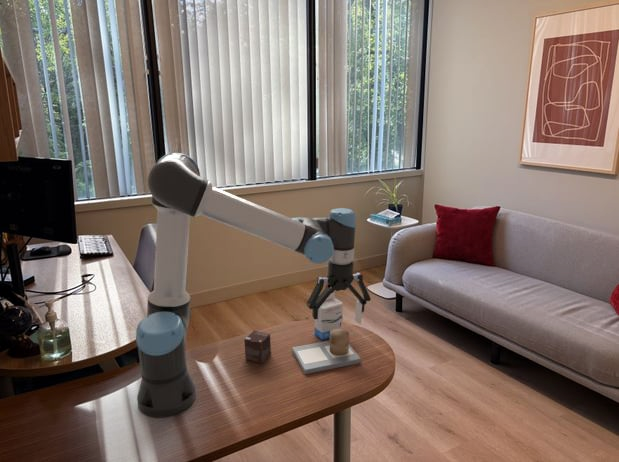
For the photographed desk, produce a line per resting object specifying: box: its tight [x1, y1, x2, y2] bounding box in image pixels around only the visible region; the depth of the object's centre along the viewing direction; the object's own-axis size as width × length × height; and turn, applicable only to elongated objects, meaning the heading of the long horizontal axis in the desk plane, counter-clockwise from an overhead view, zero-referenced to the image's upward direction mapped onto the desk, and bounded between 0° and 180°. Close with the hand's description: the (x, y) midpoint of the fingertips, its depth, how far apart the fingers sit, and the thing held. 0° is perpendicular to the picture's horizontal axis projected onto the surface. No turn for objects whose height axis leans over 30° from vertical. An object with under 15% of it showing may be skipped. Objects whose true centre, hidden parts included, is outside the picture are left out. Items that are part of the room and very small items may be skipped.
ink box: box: [314, 290, 344, 341], centre depth 156 cm, size 8×5×15 cm, turn 123°
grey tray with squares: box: [291, 339, 362, 375], centre depth 145 cm, size 18×13×2 cm
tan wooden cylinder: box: [329, 328, 350, 356], centre depth 145 cm, size 6×6×6 cm
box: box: [243, 330, 272, 364], centre depth 144 cm, size 6×6×7 cm
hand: (338, 324), depth 143 cm, fingers open, 13 cm apart
